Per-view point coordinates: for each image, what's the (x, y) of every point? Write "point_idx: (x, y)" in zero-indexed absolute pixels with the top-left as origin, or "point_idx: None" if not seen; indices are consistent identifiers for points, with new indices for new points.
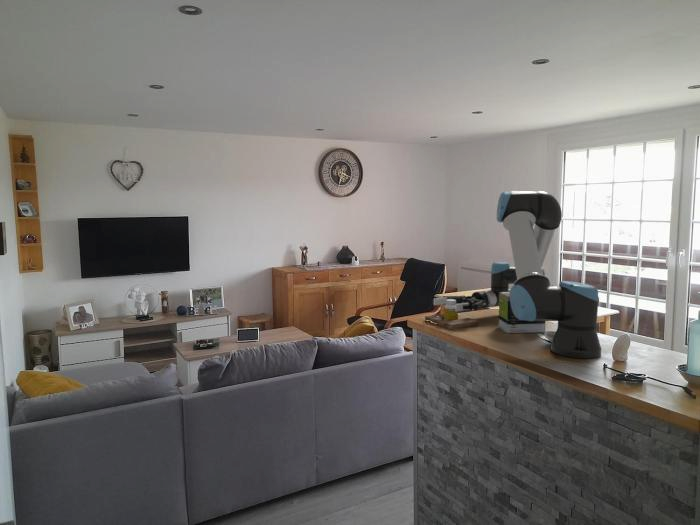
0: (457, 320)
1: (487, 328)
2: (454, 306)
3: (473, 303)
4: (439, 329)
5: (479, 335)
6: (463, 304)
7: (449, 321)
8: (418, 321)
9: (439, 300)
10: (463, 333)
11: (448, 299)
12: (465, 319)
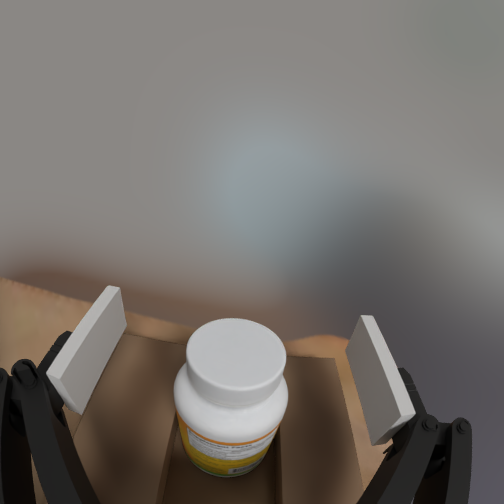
0: (153, 415)
1: None
2: (181, 372)
3: (36, 453)
4: (171, 328)
5: (16, 342)
6: (77, 331)
7: (171, 370)
8: (330, 351)
9: (368, 360)
10: None
11: (272, 349)
12: (133, 468)
